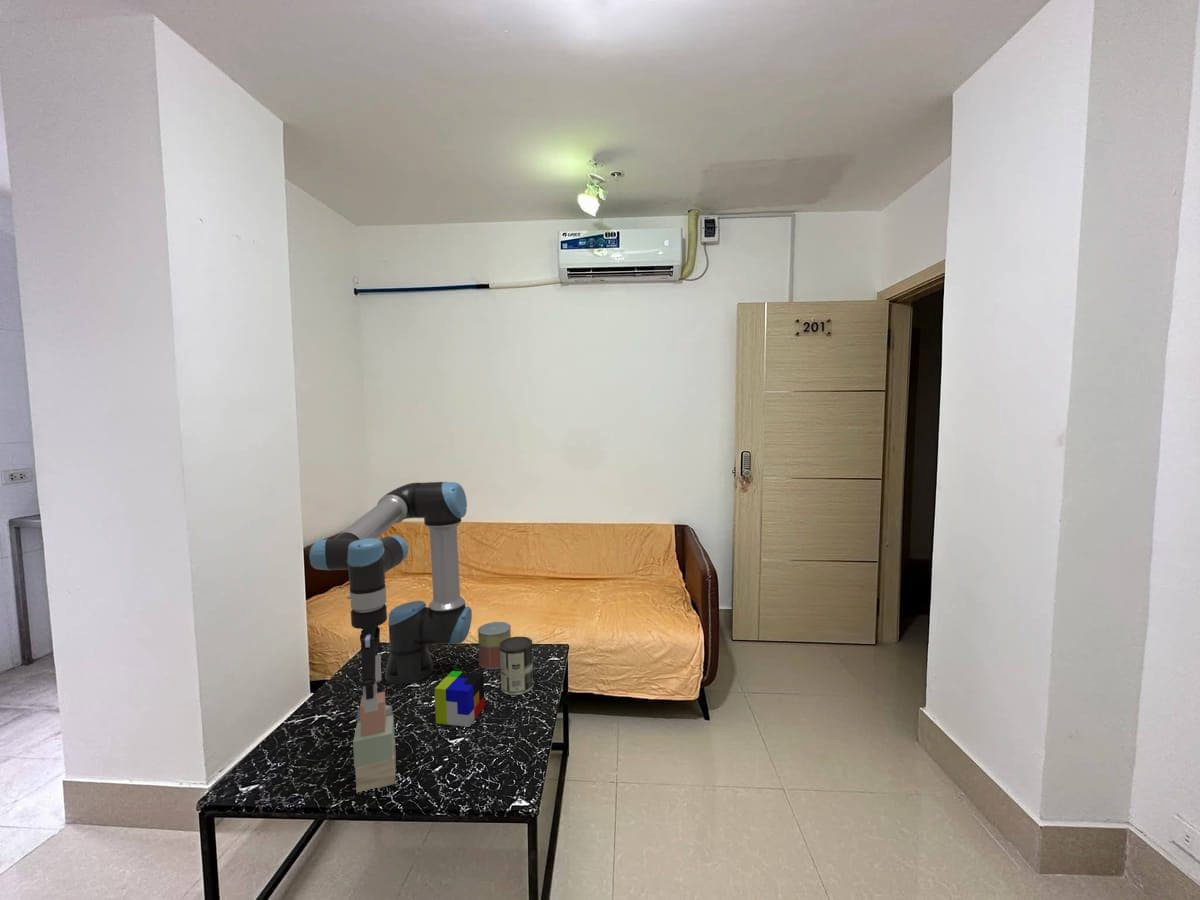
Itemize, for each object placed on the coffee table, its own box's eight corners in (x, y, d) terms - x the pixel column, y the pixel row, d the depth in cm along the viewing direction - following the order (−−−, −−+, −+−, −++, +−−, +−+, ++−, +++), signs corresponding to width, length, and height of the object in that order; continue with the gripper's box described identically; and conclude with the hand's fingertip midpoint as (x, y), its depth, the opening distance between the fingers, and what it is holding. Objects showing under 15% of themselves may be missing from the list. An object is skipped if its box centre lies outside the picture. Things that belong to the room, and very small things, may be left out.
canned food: (507, 651, 181) (506, 619, 180) (515, 664, 170) (514, 630, 170) (476, 658, 176) (474, 625, 175) (482, 672, 166) (481, 637, 165)
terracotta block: (363, 724, 117) (362, 695, 117) (386, 719, 119) (385, 691, 118) (361, 736, 112) (359, 706, 112) (385, 731, 114) (383, 702, 114)
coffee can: (524, 675, 163) (523, 633, 162) (539, 688, 154) (537, 644, 154) (495, 684, 157) (494, 641, 157) (508, 699, 149) (507, 653, 148)
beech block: (359, 771, 118) (358, 746, 118) (395, 762, 121) (394, 738, 121) (356, 793, 111) (355, 768, 111) (394, 784, 114) (393, 758, 114)
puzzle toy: (469, 727, 135) (467, 691, 135) (435, 723, 137) (434, 688, 137) (484, 706, 145) (483, 673, 145) (453, 703, 147) (452, 670, 147)
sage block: (358, 746, 118) (357, 722, 118) (394, 738, 121) (393, 714, 121) (354, 767, 111) (353, 741, 111) (392, 758, 114) (391, 733, 113)
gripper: (356, 591, 124) (361, 673, 126) (343, 630, 101) (349, 729, 102) (388, 587, 127) (392, 667, 128) (383, 624, 104) (388, 721, 105)
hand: (373, 695), depth 115 cm, fingers open, 13 cm apart
